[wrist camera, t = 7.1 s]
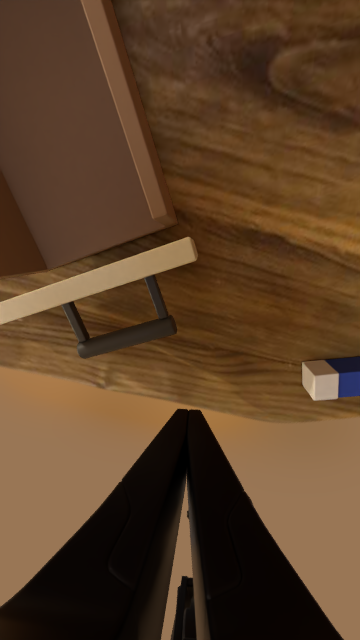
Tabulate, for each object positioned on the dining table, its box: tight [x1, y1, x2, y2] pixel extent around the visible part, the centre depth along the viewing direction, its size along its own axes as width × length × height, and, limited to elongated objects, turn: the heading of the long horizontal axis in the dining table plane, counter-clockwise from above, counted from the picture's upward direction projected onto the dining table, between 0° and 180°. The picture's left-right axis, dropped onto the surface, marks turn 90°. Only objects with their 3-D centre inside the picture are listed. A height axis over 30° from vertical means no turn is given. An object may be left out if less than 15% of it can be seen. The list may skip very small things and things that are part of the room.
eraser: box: [302, 357, 360, 401], centre depth 18 cm, size 7×2×2 cm, turn 100°
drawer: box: [0, 0, 198, 359], centre depth 13 cm, size 23×12×6 cm, turn 18°
